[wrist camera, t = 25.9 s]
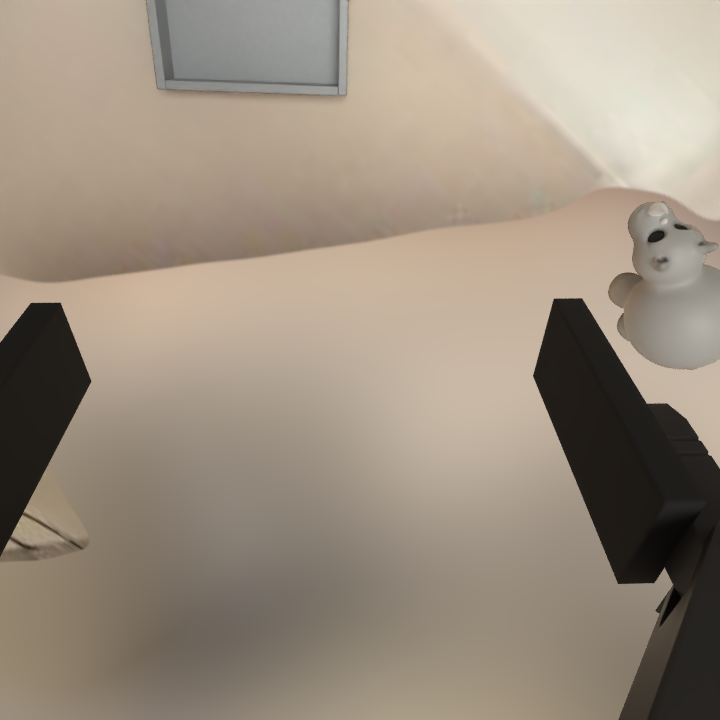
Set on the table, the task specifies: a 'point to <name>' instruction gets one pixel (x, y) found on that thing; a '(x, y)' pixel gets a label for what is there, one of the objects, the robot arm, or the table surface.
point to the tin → (250, 45)
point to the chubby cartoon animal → (669, 291)
